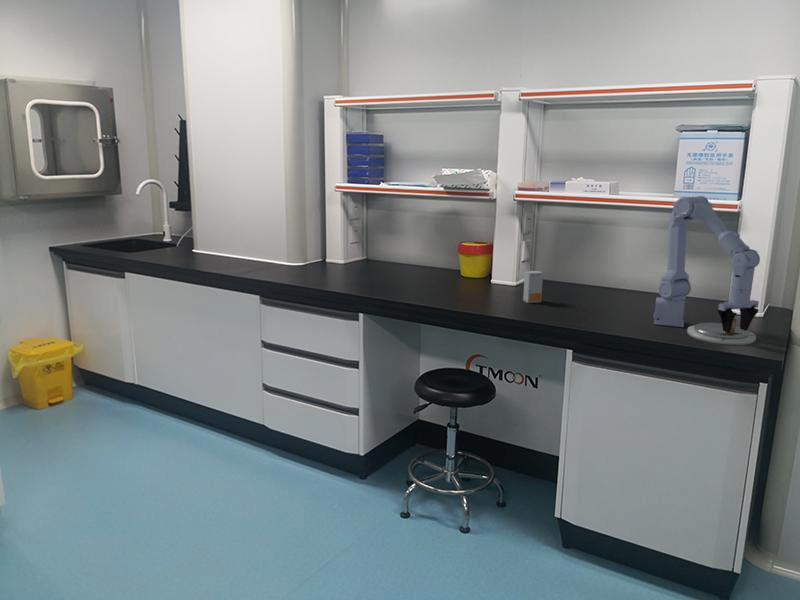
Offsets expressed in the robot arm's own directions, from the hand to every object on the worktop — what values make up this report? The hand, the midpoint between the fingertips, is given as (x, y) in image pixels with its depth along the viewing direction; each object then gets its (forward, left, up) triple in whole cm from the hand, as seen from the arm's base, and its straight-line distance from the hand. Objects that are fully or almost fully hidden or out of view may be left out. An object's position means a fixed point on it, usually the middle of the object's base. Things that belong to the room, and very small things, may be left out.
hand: (735, 330), depth 203 cm
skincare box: (-70, +28, -4) cm, 75 cm away
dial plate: (-4, +4, -3) cm, 6 cm away
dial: (-4, +4, -2) cm, 6 cm away
